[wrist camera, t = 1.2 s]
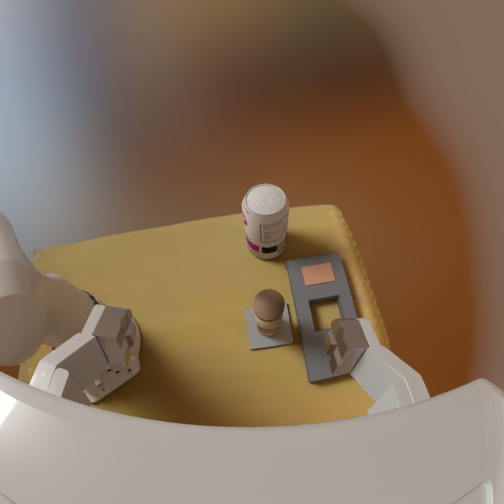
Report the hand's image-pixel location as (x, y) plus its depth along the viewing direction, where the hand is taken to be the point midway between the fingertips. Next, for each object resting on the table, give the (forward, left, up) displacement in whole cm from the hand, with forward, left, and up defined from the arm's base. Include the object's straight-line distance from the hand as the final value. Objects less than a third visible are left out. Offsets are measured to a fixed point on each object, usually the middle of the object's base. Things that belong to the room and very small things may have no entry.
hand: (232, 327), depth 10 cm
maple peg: (+9, +5, -39) cm, 41 cm away
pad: (+9, +5, -40) cm, 41 cm away
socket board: (+17, -3, -40) cm, 43 cm away
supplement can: (+22, +16, -40) cm, 49 cm away
